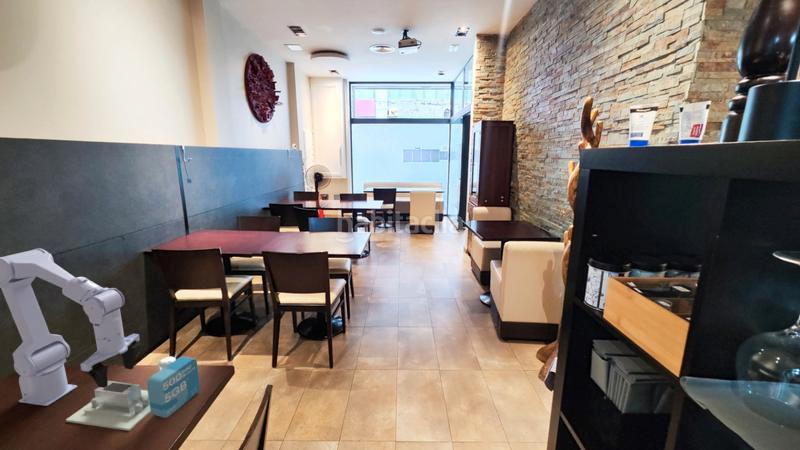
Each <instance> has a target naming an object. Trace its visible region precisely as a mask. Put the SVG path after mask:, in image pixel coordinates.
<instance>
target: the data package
mask: <svg viewBox="0 0 800 450" xmlns="http://www.w3.org/2000/svg"><path fill="white" fill-rule="evenodd" d="M198 369H199V368H198V360H197V359H196V358H194V357H193V358H192V357H189V356H183V355H182V356H180V357H178V358H176V360H175V361H174V362H172V363H171V364H169V365H168V366H166V367H165V368H163V369H162V370H159V371H157V372H156V373H154V374H153V375H151V376H150V377H149V378H148V380H147V381H146V386H147V387H146V388H147V389H146V390H147V391H148V396H149V402H150V409H151V413H150V414H151V415H153V416H157V417H161V418H164V419H167V418H169V417H170V416H171V415H173V414H174V413H175V412H176V411H178V410H179V409H180V408H181V407H182V406H184V405H185V404H186V403H187V402H188V401H190V400H191V399H192V398H193V397H194V396H195V395H197V394H198V393H199V390H200V387H201V386H200V379H199V370H198Z"/></svg>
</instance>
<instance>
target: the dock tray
mask: <svg viewBox="0 0 800 450" xmlns="http://www.w3.org/2000/svg"><path fill="white" fill-rule="evenodd" d="M141 395H142V404H140V403H138V404H136V405H134V410H133V411H132V412H131V413H123V412H116V411H109V410H102V409H98V408H97V402H96V397H93V398H91V400H90V402H88V403H87V404H86V405H84V406H83V407H82V408H80V409H78V410H77V411H76V412H74V413H73V414H72V415H70V416H69V417H67V418H66V419H65V422H67V423H73V424H81V425H87V426H94V427H101V428H108V429H115V430H122V431H128V432H131V431H132V430H133V429H134V428H135V427H136V426H137V425H139V424H140V423H141V421H143V420H144V419H145V418H146V417H147V416H149V415H150V414H151V409H150V402H149V396H148V389H141Z"/></svg>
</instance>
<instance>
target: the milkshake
mask: <svg viewBox="0 0 800 450" xmlns="http://www.w3.org/2000/svg"><path fill="white" fill-rule="evenodd" d="M177 355H178V351H176V352H175V355H174V356H167V357H163V358H162V359H161V358H160V360H159V361H158V363H157V366H158V369H159V371H160V370H162V369H163V368H165V367H166V366H168V365H169V364H171V363H172V362H174V361H175V360H177Z"/></svg>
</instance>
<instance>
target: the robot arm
mask: <svg viewBox="0 0 800 450" xmlns="http://www.w3.org/2000/svg"><path fill="white" fill-rule="evenodd" d="M36 277H37V278H40V279H41V280H43V281H46V282H48V283H51V284H52V285H55V286H57V287H59V288H62V290H61V291H62V293H61V294H62V295H64V296H65V297H67V298H69V299H70V300H72V301H73V302H75V303H77V304H80V305H81V306H82V309H83V311H84V313H85V314H86V315H87V317H88V320H89V322H90V323H91V324H92V325H93V326H92V327H93V332H94V337H95V342H96V348H97V350H96V351H95V352H94V353H93V354H92V355H90V356H89V357H88V358H87V359H86V360H85V361H83V362H82V363H80V364H79V365H80V370H81V371H82V372H85V373H86V374H88V375H89V376H90V377H91V378H92V379H93V380H94V382H95V383H96V386H97V388H99V387H102V388H105V387H107V386H108V381H109V380H108V370H109V365H105V364H104V363H102V362H103V361H105V360H107V359H109V358H112V357H114V356H116V355H118V354H119V355H120V354H121V359H122V363H123V366H124V368H125V369H126V370H134V367H135V361H136V357H137V355H138V352H139V351H140V348H141V346H142V345H141V343H140V342H139V341H140V340H141V339H140V334H139V333H132V334H129V335H128V336H125V334H124V327H123V321H122V315H121V314H122V313H121V307H123V306H124V305H125V296H124V294H123V293H122V292H121V290H118V288H116V287H110V288H109V287H102V286H101V285H98V284H97V283H95V282H94V281H91V280H90V279H88V278H87V277H84V276H77V277H75V276H74V275H73V274H71V273H69V272H68V271H66V270H65V269H64V268H62V267H61V266H60V265H58V264H56V263H55V261H54V257H53V255H52V253H49V251H47V250H45V249H43V248H33V249H31V250H27V251H23V252H22V251H21V252H18V253H13V254H10V255H9V254H8V255H6V256H5V255H4V256H0V289H1V291H2V294H3V296H4V299H5V301H6V303H7V306H8V309H9V311H10V313H11V316H12V319H13V321H14V323H15V325H16V328H17V331H18V334H19V336H20V337H21V340H22V342H21V344H20V345H19V346H18V347H17V348H16V349H15V350H14V351H13V353H12V358H13V367H14V370H15V372H16V373H17V374H18V375H20V376H19V378H18V384H19V388H20V392H21V396H22V398H21V399H19V400H18V402H19V403H24V404H31V405H35V406H36V405H37V406H38V405H39V406H45V407H47V406H49V405H52V404H54V403H55V402H56V401H57V400H59V399H60V398H62V397H64V396H65V395H67V394H69V393H70V392H71V391H73V390H74V389H76V388H78V385H76V384H70V383H69V384H68V378H67V373H66V368H65V363H66V362H67V359H66V358H68V357H70V355H71V354H70V353H71V347H70V345H69V344H68V343H67V342H66V341H65V339H64V338H63V336H62V335H60V334H53V333H50V331H49V328H48V325H47V323H46V320H45V318H44V315H43V313H42V310H41V307H40V305H39V302H38V300H37V298H36V295H35V292H34V289H33V287H32V282H33V281H34V280H35V279H36Z"/></svg>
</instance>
